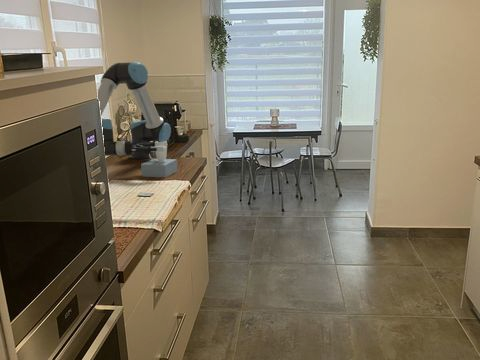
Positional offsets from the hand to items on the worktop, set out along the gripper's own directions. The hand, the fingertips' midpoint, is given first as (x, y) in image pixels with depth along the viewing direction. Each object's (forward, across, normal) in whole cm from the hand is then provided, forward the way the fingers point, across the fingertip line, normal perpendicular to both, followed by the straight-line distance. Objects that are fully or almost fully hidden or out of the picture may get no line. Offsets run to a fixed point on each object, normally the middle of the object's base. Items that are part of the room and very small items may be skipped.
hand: (165, 146), depth 243 cm
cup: (-4, 0, -8) cm, 9 cm away
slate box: (-4, +1, -15) cm, 15 cm away
